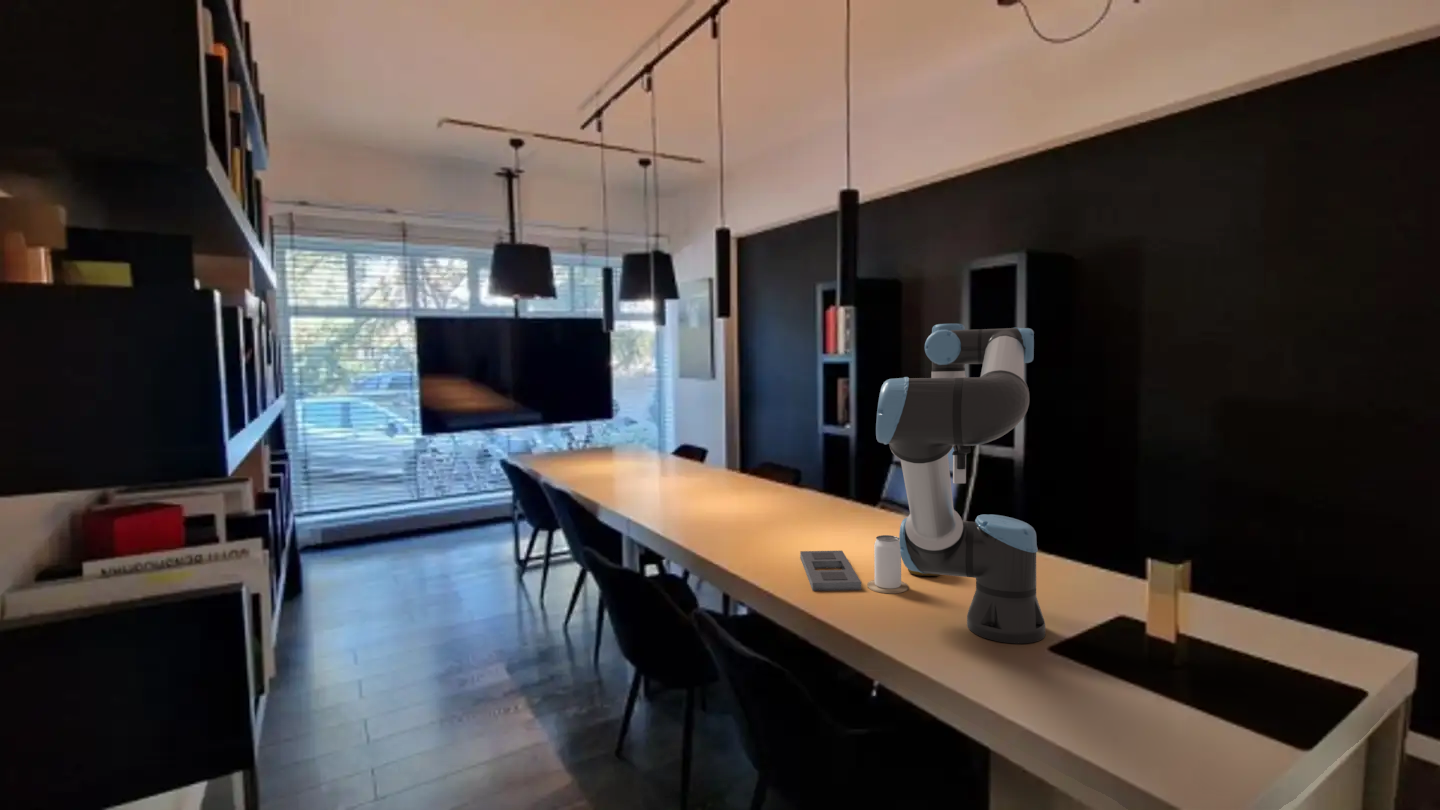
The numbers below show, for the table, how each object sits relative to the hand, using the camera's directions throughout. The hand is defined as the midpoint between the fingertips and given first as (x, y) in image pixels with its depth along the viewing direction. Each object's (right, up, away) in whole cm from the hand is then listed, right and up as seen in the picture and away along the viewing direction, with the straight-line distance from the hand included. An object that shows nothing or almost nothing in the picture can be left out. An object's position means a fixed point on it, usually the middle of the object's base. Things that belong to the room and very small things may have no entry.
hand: (947, 478), depth 165 cm
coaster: (-12, -28, +8) cm, 31 cm away
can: (-12, -28, +8) cm, 31 cm away
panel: (-25, -27, +20) cm, 42 cm away
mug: (+1, -27, +20) cm, 33 cm away
